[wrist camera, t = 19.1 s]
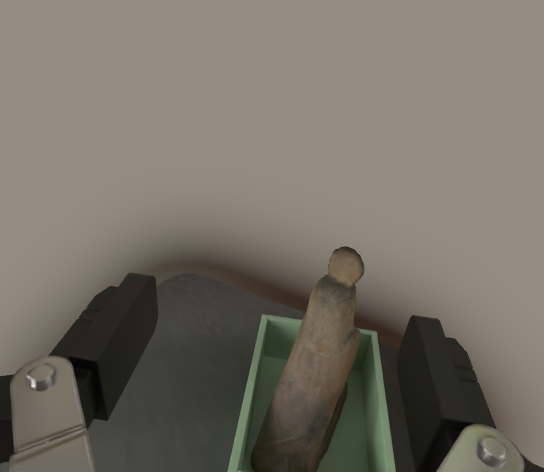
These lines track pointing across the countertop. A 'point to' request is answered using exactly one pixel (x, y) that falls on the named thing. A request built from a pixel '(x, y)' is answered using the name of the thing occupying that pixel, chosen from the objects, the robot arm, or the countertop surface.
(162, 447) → the countertop surface
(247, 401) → the bin
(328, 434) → the worn brown figurine
